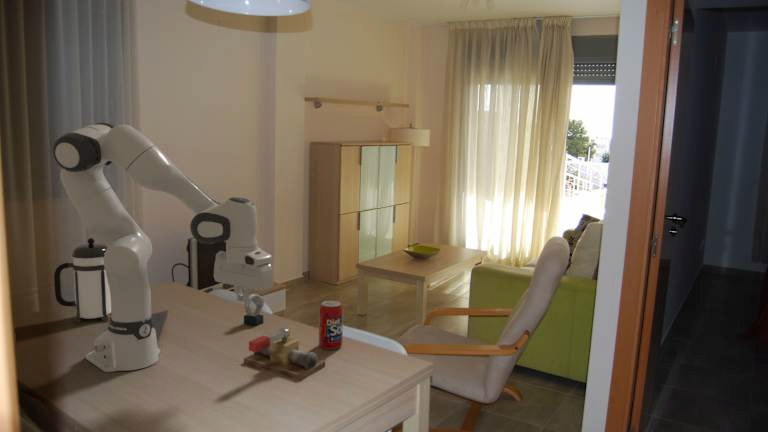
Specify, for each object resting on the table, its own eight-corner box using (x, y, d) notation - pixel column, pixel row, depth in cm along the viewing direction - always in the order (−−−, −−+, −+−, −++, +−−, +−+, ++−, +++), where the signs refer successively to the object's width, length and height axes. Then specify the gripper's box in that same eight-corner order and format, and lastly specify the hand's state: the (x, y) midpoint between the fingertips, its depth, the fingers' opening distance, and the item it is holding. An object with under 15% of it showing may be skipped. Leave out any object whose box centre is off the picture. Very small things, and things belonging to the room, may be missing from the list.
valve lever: (283, 334, 177) (283, 326, 176) (292, 336, 175) (292, 328, 175) (248, 350, 163) (248, 341, 163) (256, 352, 162) (256, 343, 161)
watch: (266, 321, 213) (266, 293, 212) (252, 328, 206) (252, 298, 205) (254, 319, 216) (254, 290, 214) (240, 325, 209) (240, 296, 207)
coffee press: (102, 308, 223) (98, 232, 218) (125, 317, 213) (121, 238, 209) (55, 319, 209) (50, 238, 204) (77, 329, 200) (73, 245, 195)
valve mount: (243, 362, 176) (243, 334, 175) (270, 350, 186) (270, 323, 185) (300, 380, 165) (300, 350, 164) (325, 366, 176) (325, 338, 174)
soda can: (322, 340, 196) (323, 298, 194) (344, 343, 195) (345, 300, 192) (315, 349, 189) (316, 305, 186) (338, 352, 187) (339, 307, 185)
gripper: (207, 251, 167) (209, 297, 169) (261, 261, 157) (261, 310, 159) (224, 247, 172) (225, 292, 174) (276, 257, 162) (276, 304, 164)
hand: (242, 300), depth 166 cm, fingers closed
